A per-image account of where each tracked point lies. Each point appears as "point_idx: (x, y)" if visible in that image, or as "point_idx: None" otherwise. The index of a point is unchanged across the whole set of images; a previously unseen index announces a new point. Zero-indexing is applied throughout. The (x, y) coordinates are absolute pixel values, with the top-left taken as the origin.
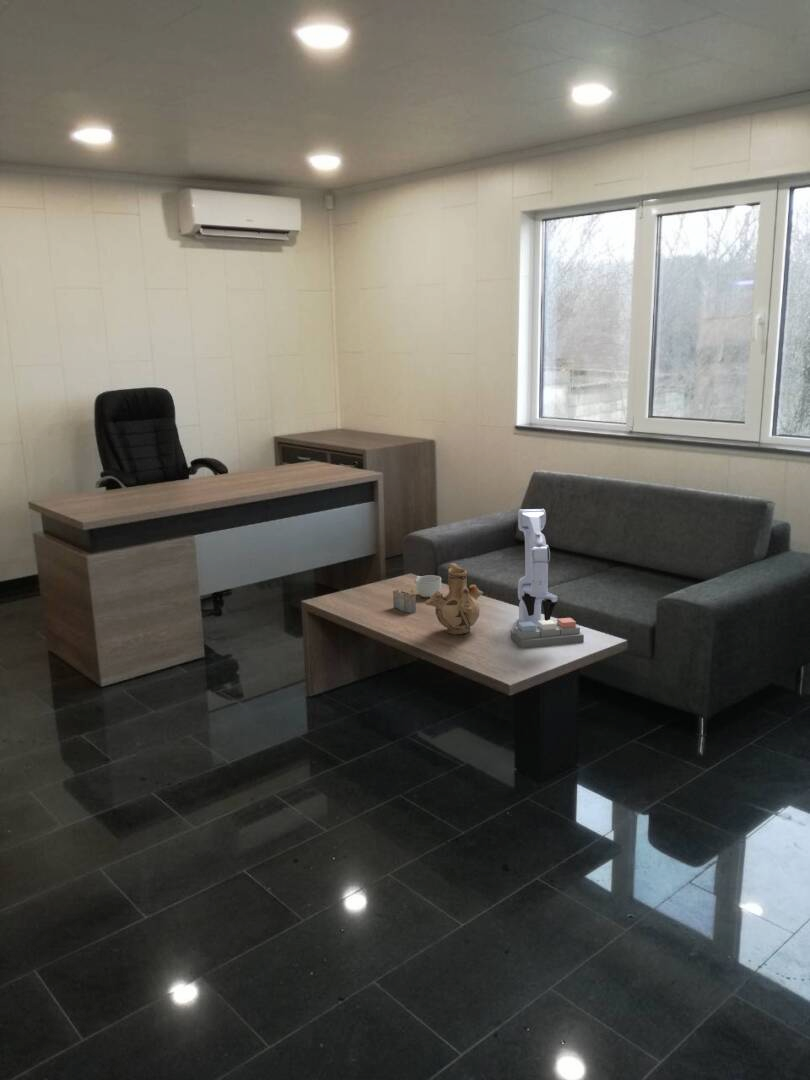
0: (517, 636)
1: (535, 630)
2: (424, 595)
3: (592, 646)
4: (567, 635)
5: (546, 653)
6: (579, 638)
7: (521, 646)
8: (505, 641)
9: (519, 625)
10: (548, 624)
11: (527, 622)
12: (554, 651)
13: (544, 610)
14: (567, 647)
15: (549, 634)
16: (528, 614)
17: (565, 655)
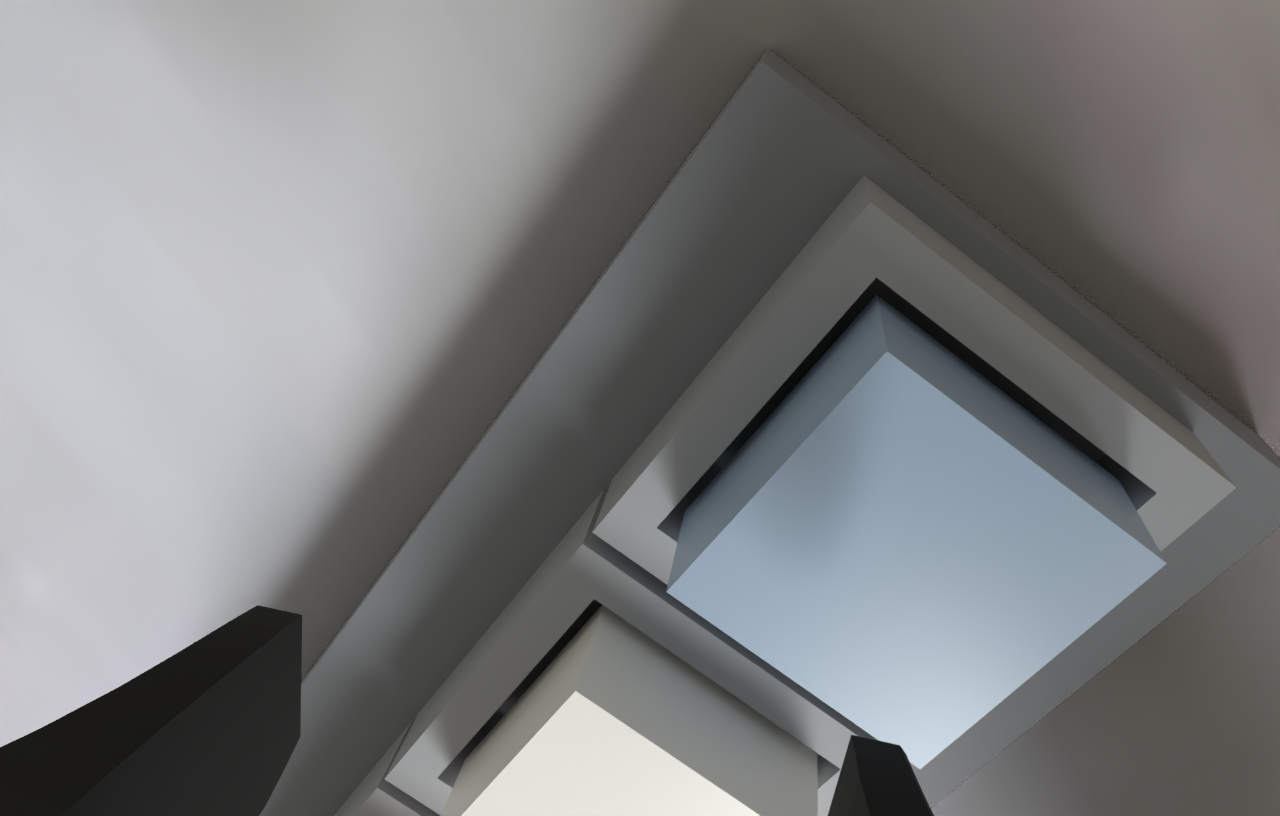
0: (1006, 262)
1: (690, 518)
2: None
3: (39, 680)
4: (320, 738)
5: (264, 56)
6: None
7: (806, 80)
8: (1254, 182)
9: (1072, 478)
10: (510, 761)
11: (952, 670)
12: (239, 228)
13: (79, 776)
14: (225, 491)
15: (508, 609)
16: (891, 758)
17: (4, 163)
